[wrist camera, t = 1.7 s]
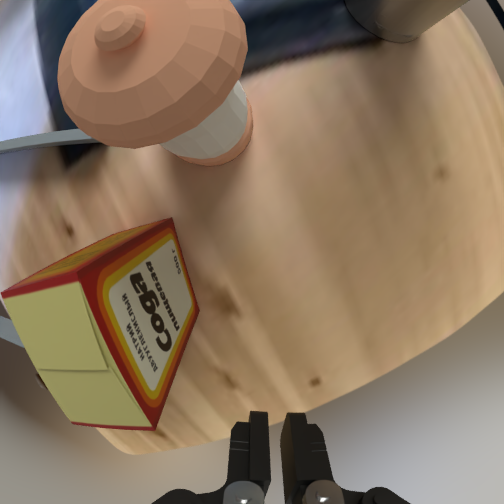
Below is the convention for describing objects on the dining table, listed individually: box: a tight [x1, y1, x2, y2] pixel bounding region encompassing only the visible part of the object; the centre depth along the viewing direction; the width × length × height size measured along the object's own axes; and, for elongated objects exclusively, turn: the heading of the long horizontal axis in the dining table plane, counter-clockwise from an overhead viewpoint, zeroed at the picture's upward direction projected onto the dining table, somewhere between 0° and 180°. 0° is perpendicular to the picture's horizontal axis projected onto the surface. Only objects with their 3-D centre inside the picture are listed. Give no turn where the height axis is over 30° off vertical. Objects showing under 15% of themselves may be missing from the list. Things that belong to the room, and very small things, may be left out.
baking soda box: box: [1, 218, 200, 431], centre depth 19 cm, size 10×6×16 cm
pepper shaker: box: [58, 0, 253, 166], centre depth 14 cm, size 7×7×19 cm
